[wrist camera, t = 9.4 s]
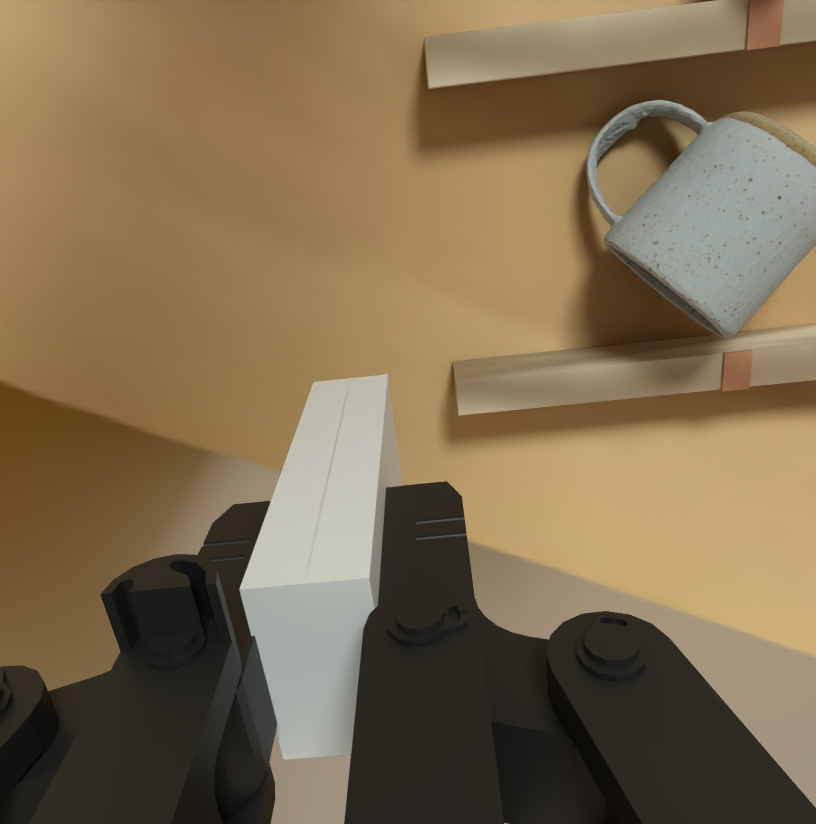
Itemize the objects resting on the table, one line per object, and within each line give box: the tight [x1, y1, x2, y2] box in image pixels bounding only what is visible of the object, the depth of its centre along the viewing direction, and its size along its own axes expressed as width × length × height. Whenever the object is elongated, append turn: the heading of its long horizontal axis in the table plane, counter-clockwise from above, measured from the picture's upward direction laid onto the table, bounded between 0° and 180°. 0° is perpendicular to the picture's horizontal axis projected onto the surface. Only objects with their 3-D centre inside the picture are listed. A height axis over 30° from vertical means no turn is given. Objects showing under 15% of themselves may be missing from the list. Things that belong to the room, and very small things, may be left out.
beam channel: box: [424, 0, 816, 415], centre depth 33 cm, size 22×23×5 cm
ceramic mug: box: [586, 100, 816, 340], centre depth 32 cm, size 11×8×8 cm
